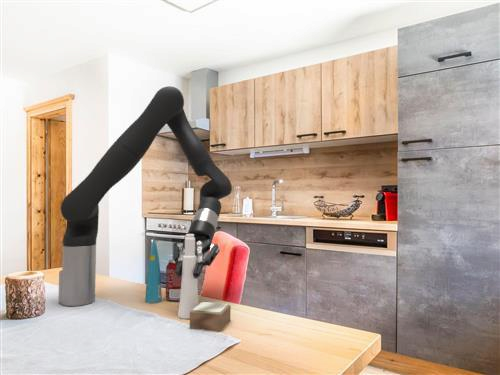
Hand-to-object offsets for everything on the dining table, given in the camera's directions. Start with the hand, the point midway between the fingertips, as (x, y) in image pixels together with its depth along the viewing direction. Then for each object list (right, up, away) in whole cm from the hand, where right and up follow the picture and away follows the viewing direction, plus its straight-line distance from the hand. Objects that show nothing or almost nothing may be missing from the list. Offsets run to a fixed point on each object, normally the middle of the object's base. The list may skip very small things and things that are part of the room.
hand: (186, 275), depth 98 cm
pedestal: (+7, -11, -5) cm, 14 cm away
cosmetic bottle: (0, -11, +2) cm, 11 cm away
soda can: (-6, -12, +18) cm, 22 cm away
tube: (-13, -12, +15) cm, 23 cm away
